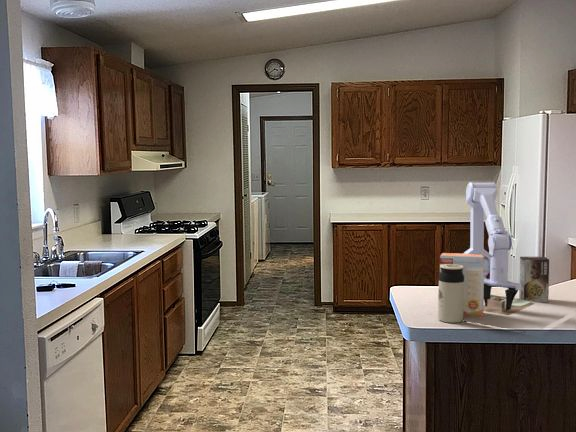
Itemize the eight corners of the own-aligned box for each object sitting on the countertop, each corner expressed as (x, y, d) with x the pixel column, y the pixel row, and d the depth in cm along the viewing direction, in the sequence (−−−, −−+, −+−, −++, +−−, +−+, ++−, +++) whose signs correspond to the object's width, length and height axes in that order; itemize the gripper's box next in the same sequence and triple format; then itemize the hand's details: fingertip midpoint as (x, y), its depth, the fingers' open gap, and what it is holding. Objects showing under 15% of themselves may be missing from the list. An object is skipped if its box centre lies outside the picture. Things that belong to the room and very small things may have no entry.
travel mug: (462, 317, 205) (463, 264, 203) (463, 324, 197) (465, 268, 196) (437, 316, 207) (438, 263, 205) (438, 322, 199) (439, 267, 197)
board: (474, 312, 213) (475, 296, 212) (502, 300, 229) (503, 286, 229) (508, 318, 205) (509, 301, 204) (535, 306, 221) (535, 291, 220)
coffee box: (543, 298, 233) (544, 256, 231) (548, 302, 226) (550, 259, 225) (518, 298, 233) (519, 256, 232) (522, 302, 227) (524, 258, 226)
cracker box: (483, 315, 208) (485, 254, 206) (482, 319, 203) (483, 256, 201) (441, 311, 213) (442, 251, 211) (438, 316, 208) (439, 254, 206)
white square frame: (487, 309, 212) (487, 299, 212) (493, 306, 216) (494, 297, 215) (501, 312, 208) (502, 301, 208) (508, 309, 212) (508, 299, 212)
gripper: (473, 267, 213) (472, 306, 214) (515, 272, 203) (513, 313, 204) (482, 264, 218) (481, 302, 219) (523, 269, 208) (522, 309, 209)
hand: (497, 307), depth 212 cm, fingers open, 7 cm apart
